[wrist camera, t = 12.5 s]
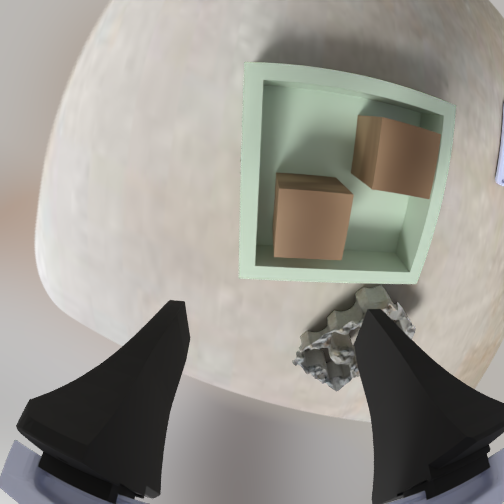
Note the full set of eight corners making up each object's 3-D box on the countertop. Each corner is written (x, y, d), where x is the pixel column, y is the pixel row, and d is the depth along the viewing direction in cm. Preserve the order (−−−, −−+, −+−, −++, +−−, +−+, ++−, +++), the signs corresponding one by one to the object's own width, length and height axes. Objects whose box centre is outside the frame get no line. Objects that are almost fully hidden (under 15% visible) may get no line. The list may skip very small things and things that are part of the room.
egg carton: (376, 271, 21) (393, 300, 18) (409, 314, 24) (425, 342, 20) (285, 338, 25) (287, 371, 22) (329, 368, 28) (334, 398, 24)
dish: (428, 103, 14) (456, 105, 11) (398, 260, 20) (416, 284, 17) (248, 72, 14) (244, 62, 11) (242, 252, 21) (238, 278, 18)
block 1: (335, 177, 17) (353, 194, 14) (328, 231, 19) (341, 260, 15) (276, 172, 17) (279, 188, 14) (272, 228, 19) (273, 257, 16)
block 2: (409, 127, 15) (441, 134, 11) (401, 181, 17) (429, 199, 13) (357, 115, 15) (382, 116, 11) (350, 173, 17) (371, 189, 13)
